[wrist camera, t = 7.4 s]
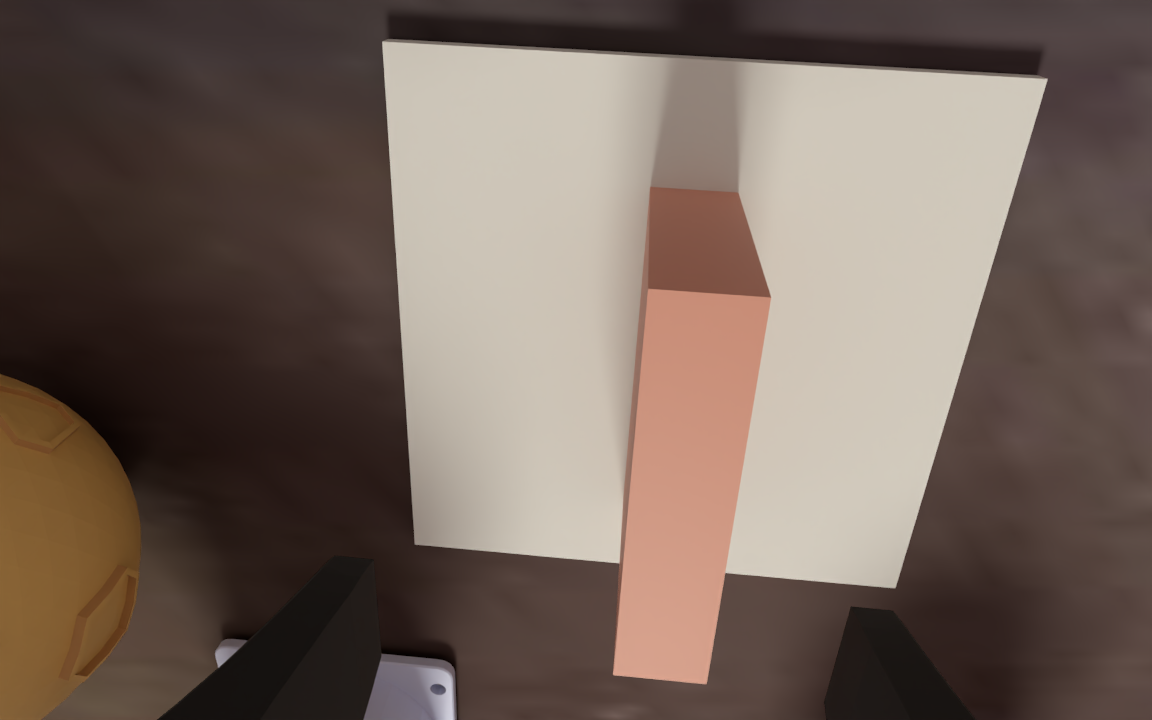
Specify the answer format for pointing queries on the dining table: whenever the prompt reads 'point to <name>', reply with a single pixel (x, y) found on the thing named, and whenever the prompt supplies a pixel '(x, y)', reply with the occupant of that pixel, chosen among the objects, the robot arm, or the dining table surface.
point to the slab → (687, 429)
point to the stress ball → (59, 551)
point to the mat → (615, 268)
